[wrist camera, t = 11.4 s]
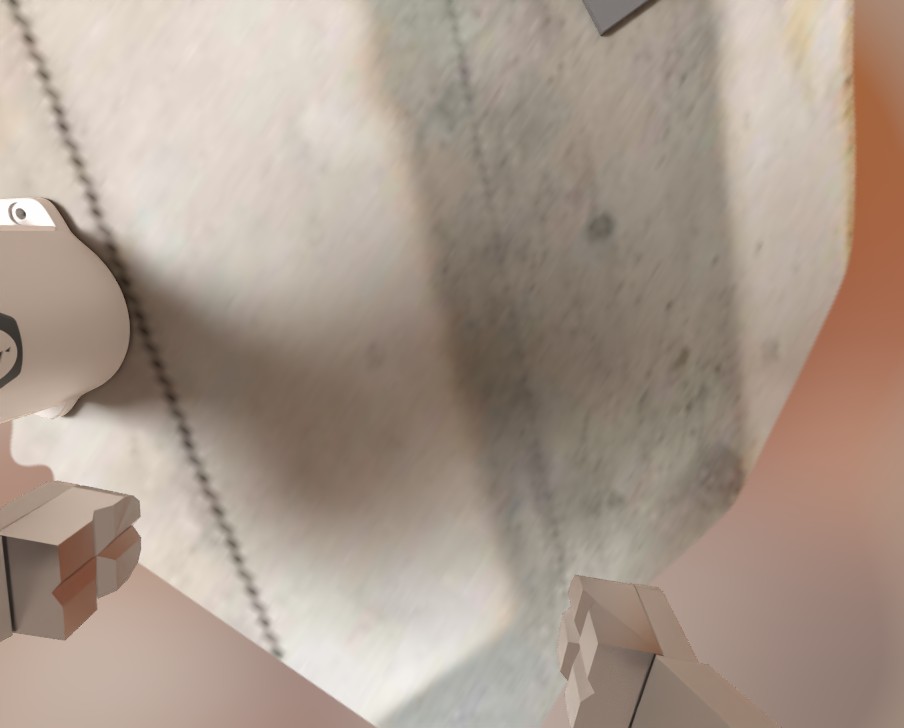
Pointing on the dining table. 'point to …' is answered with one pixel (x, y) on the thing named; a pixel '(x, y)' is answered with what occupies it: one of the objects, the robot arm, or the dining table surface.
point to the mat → (611, 11)
